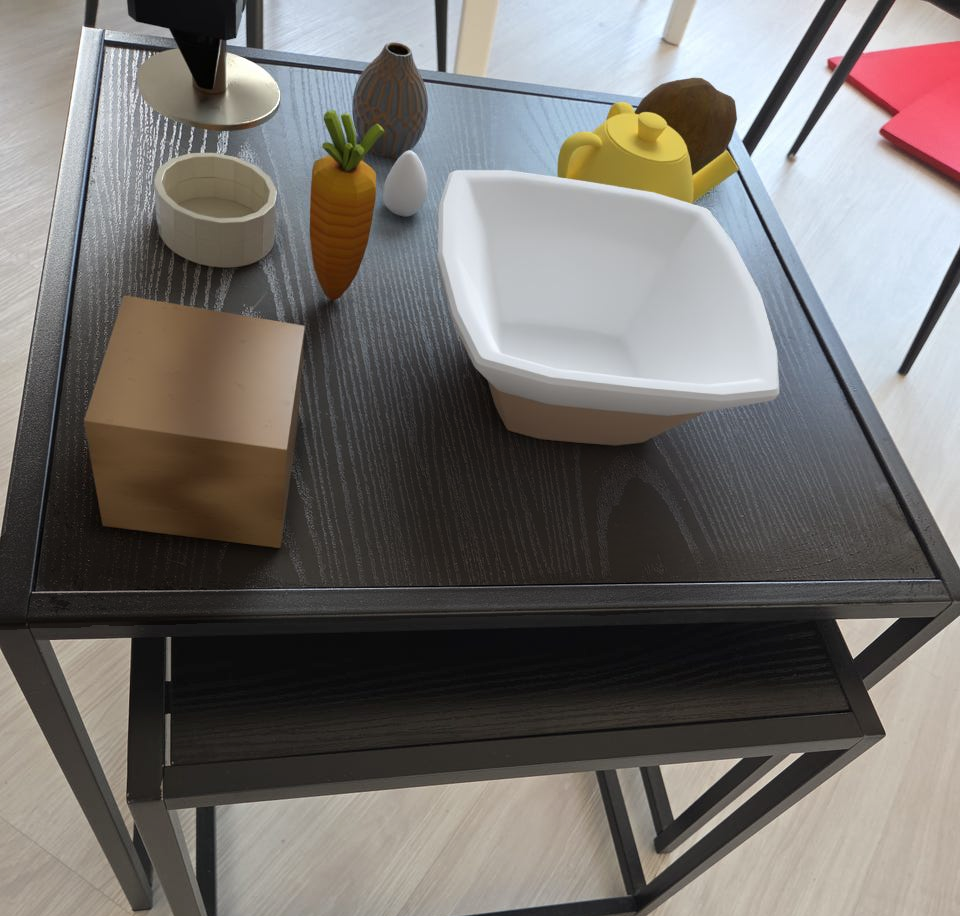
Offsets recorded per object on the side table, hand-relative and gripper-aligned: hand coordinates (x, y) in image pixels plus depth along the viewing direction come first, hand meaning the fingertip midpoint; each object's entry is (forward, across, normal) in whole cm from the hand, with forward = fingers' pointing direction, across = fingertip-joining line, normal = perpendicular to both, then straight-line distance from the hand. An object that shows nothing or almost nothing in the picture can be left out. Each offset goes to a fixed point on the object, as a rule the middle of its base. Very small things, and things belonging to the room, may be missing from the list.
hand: (208, 77), depth 66 cm
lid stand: (+12, -26, -3) cm, 29 cm away
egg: (+13, +9, -15) cm, 22 cm away
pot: (+13, +1, 0) cm, 13 cm away
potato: (+14, +26, -43) cm, 52 cm away
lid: (+1, 0, 0) cm, 1 cm away
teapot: (+13, +11, -36) cm, 40 cm away
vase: (+13, +19, -13) cm, 26 cm away
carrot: (+13, -6, -10) cm, 17 cm away
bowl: (+13, -11, -29) cm, 34 cm away
